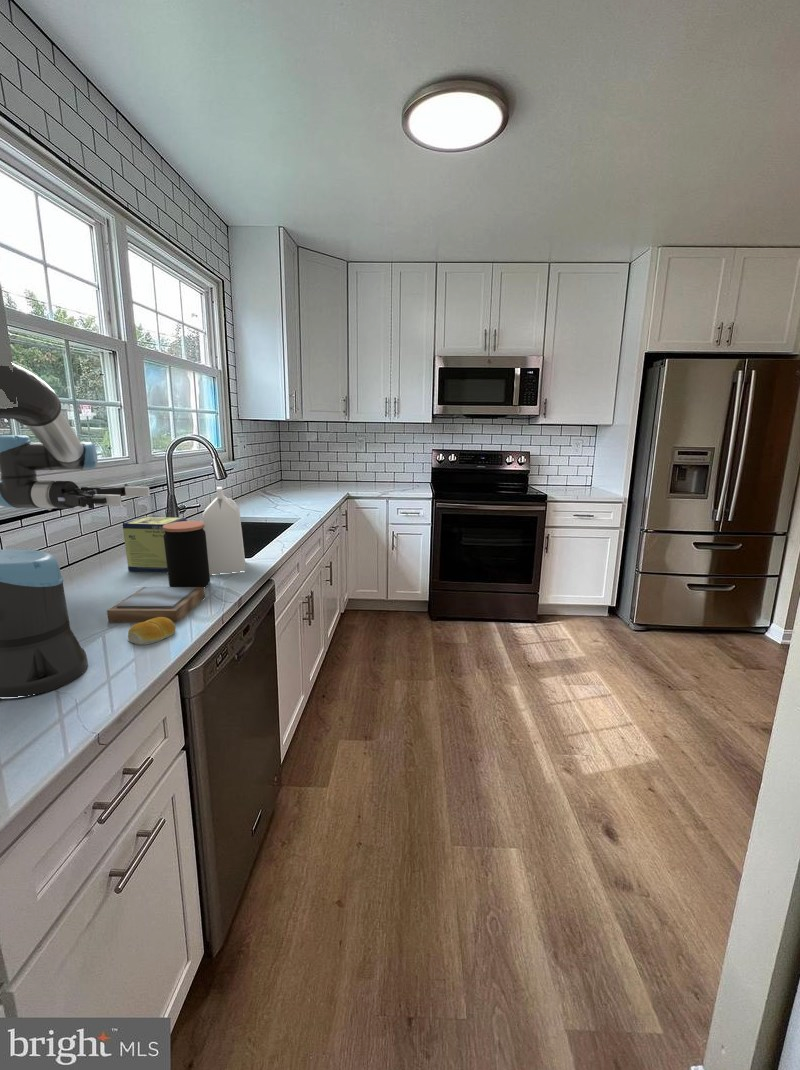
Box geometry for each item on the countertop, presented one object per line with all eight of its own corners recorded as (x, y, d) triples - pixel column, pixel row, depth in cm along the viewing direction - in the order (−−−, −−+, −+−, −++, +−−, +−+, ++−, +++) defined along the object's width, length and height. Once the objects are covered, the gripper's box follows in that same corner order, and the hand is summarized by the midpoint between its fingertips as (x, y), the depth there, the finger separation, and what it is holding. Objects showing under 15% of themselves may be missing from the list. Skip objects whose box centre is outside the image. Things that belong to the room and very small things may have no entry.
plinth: (177, 622, 108) (175, 608, 107) (108, 622, 108) (106, 608, 107) (205, 597, 124) (204, 585, 123) (145, 597, 124) (143, 585, 123)
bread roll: (183, 632, 104) (181, 615, 103) (145, 649, 96) (143, 631, 95) (159, 625, 107) (157, 608, 106) (121, 640, 100) (118, 623, 99)
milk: (208, 565, 153) (200, 486, 147) (245, 562, 156) (239, 484, 150) (205, 576, 142) (197, 491, 136) (245, 572, 145) (238, 489, 139)
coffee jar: (217, 581, 137) (211, 521, 133) (198, 593, 127) (191, 529, 123) (182, 579, 138) (176, 520, 134) (161, 592, 128) (153, 528, 124)
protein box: (175, 572, 145) (169, 523, 141) (127, 571, 146) (120, 523, 142) (192, 563, 155) (187, 517, 151) (147, 562, 156) (141, 516, 153)
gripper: (90, 500, 139) (160, 501, 139) (23, 518, 115) (108, 519, 115) (86, 475, 138) (157, 476, 137) (17, 487, 113) (104, 489, 113)
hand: (135, 495), depth 126 cm, fingers open, 13 cm apart
